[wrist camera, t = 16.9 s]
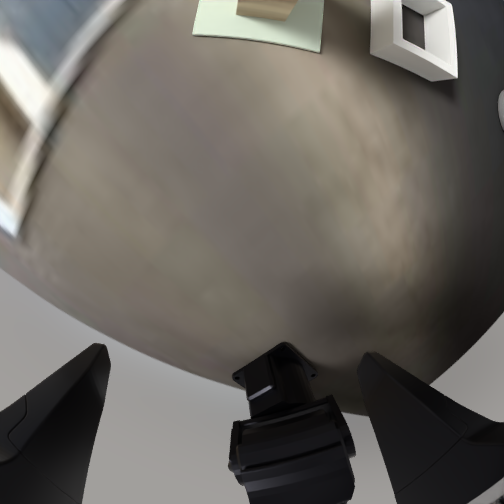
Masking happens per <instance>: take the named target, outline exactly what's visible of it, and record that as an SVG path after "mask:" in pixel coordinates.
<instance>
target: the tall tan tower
mask: <svg viewBox="0 0 504 504" xmlns="http://www.w3.org/2000/svg"><path fill="white" fill-rule="evenodd" d="M297 1H298V0H238V3H237V9H236V15H244V16H252V17H260V18H266V19H273V20H278V21H284V22H285V21H286V19H287V17H288V16H289V14H290V13H291V11H292V9H293V8H294V6H295V5H296V3H297Z"/></svg>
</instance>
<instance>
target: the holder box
mask: <svg viewBox="0 0 504 504" xmlns="http://www.w3.org/2000/svg"><path fill="white" fill-rule="evenodd" d="M401 4H403V5H405V6H407V7H409V8H411V9H412V10H414V11H416V12H418V13H420V14H422V15H423V16H424V30H425V50H423V49H422V48H420V47H418V46H416V45H414V44H412V43H410V42H408V41H406V40H404V39H403V30H402V5H401ZM370 54H371V55H374V56H376V57H379V58H381V59H384V60H386V61H389V62H391V63H393V64H396V65H398V66H400V67H402V68H405V69H407V70H409V71H411V72H413V73H415V74H417V75H419V76H421V77H423V78H425V79H427V80H429V81H431V82H433V81H440V80H448V79H456V78H458V72H457V47H456V35H455V25H454V17H453V10H452V5H451V4H450V3H448V2H447V1H445V0H371V39H370Z"/></svg>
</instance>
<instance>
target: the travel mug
mask: <svg viewBox="0 0 504 504" xmlns="http://www.w3.org/2000/svg"><path fill="white" fill-rule="evenodd" d="M498 113H499V119H500V123H501V126H502V128H503V131H504V90H503V91H502V92H501V93H500V95H499V99H498Z"/></svg>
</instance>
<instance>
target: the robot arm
mask: <svg viewBox="0 0 504 504" xmlns="http://www.w3.org/2000/svg"><path fill="white" fill-rule="evenodd" d="M283 347H284V348H283ZM281 348H283V349H281ZM110 368H111V363H110V358H109V354H108V350H107V347H106V345H104V344H99V343H94V344H92V345H91V346H89V347H88V348H87V349H85V350H84V351H82V352H81V353H80V354H79V355H77V356H76V357H74V358H73V359H72V360H70V361H69V362H68V363H66V364H65V365H63V366H62V367H61V368H59V369H58V370H57V371H55V372H54V373H53V374H51V375H50V376H49V377H47V378H46V379H45V380H43V381H42V382H41V383H39V384H38V385H37V386H36V387H34V388H33V389H32V390H30V391H29V392H27V393H26V395H24V396H22V397H21V398H20V399H18V400H17V401H15V402H14V403H13V404H11V405H10V406H9V407H7V408H6V409H4V410H2V411H1V412H0V504H82V499H83V494H84V488H85V482H86V477H87V472H88V467H89V463H90V458H91V454H92V450H93V445H94V441H95V437H96V433H97V429H98V426H99V422H100V418H101V415H102V411H103V407H104V402H105V396H106V390H107V385H108V379H109V374H110ZM357 374H358V378H359V382H360V386H361V390H362V394H363V398H364V403H365V406H366V409H367V412H368V415H369V418H370V421H371V424H372V426H373V429H374V432H375V435H376V438H377V441H378V444H379V447H380V450H381V453H382V456H383V459H384V462H385V465H386V468H387V472H388V475H389V478H390V481H391V484H392V488H393V491H394V494H395V498H396V502H397V504H504V422H495V421H492V420H490V419H488V418H486V417H484V416H482V415H480V414H478V413H476V412H474V411H472V410H470V409H467V408H466V407H464V406H462V405H460V404H458V403H457V402H455V401H453V400H452V399H450V398H448V397H447V396H444V394H442V393H440V392H439V391H437V390H436V389H434V388H432V387H431V386H429V385H428V384H426V383H424V382H423V381H421V380H420V379H418V378H417V377H415V376H413V375H412V374H410V373H409V372H407V371H405V370H404V369H402V368H401V367H399V366H398V365H396V364H394V363H393V362H391V361H390V360H388V359H387V358H385V357H384V356H382V355H380V354H379V353H377V352H375V351H373V352H366V353H365V354H364V355H363V358H362V360H361V362H360V364H359V366H358V370H357ZM317 375H318V373H317V371H316V370H315V369H314V368H313V367H312V366H311V365H310V364H309V363H308V362H306V361H305V360H304V359H303V358H302V357H301V356H300V355H299V354H298V353H296V352H295V351H294V350H293V349H292V348H291V347H290V346H289V345H288V344H287V343H280V344H278V345H277V346H275V347H274V348H272V349H271V350H269V351H268V352H266V353H265V354H263V355H262V356H260V357H258V358H257V359H255V360H254V361H252V362H251V363H249V364H247V365H246V366H244V367H243V368H241V369H239V370H238V371H236V372H234V373H233V374H232V379H233V380H234V381H235V382H237V383H238V384H240V385H241V386H243V387H244V388H246V396H247V400H248V401H249V409H250V416H251V419H248V420H243V421H240V420H239V421H234V422H233V429H232V431H231V442H230V453H229V463H228V468H229V470H230V471H232V472H233V473H234V475H235V477H236V479H237V481H238V483H239V484H240V485H242V486H244V485H245V488H246V491H247V494H248V498H249V502H250V504H347V501H349V500H351V498H352V495H353V492H354V488H355V485H354V482H355V478H354V475H353V471H352V468H351V464H350V461H349V458H352V457H355V456H356V451H355V446H354V442H353V439H352V436H351V433H350V430H349V427H348V425H347V423H346V421H345V419H344V417H343V415H342V413H341V411H340V409H339V407H338V405H337V403H336V401H335V399H334V397H333V395H332V394H331V395H328V396H326V398H323V399H320V400H317V401H315V398H314V395H313V393H312V390H311V387H310V384H309V381H311V380H312V379H314V378H316V377H317ZM237 376H238V377H237Z"/></svg>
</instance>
